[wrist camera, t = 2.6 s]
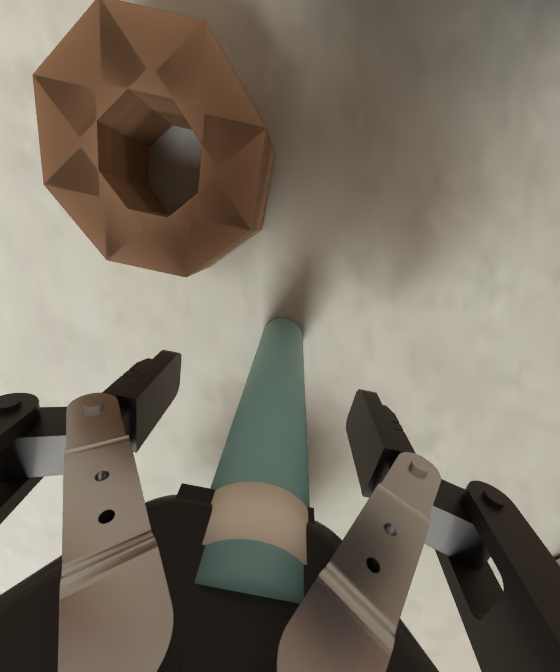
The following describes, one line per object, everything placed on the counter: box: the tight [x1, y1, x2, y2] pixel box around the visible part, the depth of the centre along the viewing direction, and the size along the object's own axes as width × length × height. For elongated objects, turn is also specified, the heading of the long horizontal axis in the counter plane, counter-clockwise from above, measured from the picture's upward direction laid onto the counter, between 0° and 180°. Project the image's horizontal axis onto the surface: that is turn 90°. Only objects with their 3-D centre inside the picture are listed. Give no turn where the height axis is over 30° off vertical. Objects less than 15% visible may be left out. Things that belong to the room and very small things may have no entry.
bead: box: [33, 0, 275, 277], centre depth 13 cm, size 9×9×4 cm
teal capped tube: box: [194, 318, 310, 604], centre depth 12 cm, size 3×3×14 cm
